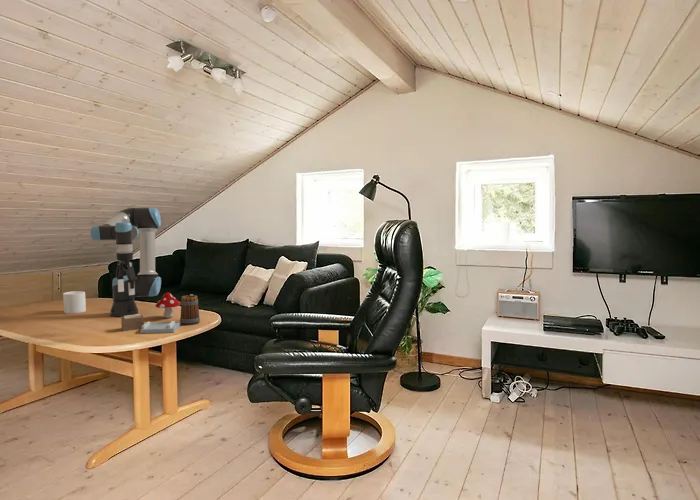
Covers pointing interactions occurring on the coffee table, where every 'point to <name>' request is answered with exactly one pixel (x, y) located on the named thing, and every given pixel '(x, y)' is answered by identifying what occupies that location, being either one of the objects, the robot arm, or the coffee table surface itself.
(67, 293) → the cup
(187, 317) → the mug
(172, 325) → the grey serving tray
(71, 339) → the coffee table surface
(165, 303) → the decorative mushroom
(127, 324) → the brown box
